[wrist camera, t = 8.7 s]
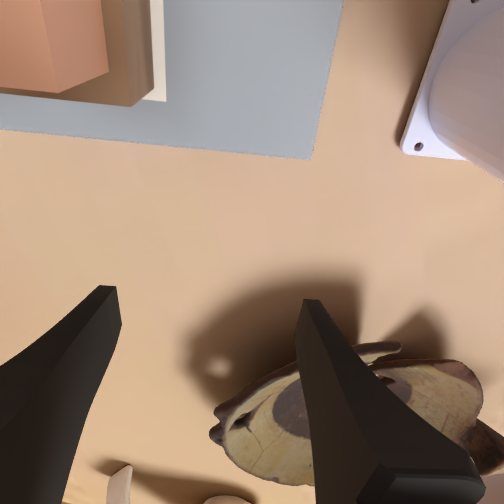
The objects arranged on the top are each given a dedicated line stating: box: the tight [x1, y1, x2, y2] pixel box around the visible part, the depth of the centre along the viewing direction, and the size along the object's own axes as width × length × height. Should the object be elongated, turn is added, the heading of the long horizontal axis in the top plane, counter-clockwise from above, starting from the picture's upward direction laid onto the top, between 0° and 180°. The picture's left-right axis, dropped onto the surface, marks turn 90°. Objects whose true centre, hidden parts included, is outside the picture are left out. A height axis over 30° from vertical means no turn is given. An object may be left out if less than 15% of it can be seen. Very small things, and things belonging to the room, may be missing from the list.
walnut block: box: [0, 0, 154, 107], centre depth 14 cm, size 6×6×4 cm
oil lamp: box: [209, 341, 504, 486], centre depth 32 cm, size 22×30×8 cm
